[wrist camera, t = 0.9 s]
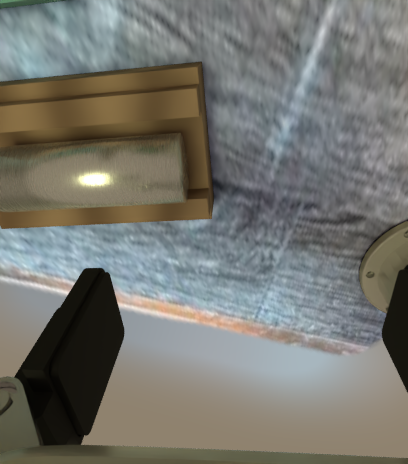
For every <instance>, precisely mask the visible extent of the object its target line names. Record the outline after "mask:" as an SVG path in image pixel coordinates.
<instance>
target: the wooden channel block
mask: <svg viewBox="0 0 408 464" xmlns="http://www.w3.org/2000/svg"><path fill="white" fill-rule="evenodd" d="M171 133H181V134H182V136H183V139H184V143H185V148H186V154H187V162H188V178H189V186H188V198H187V201H186V203H171V204H152V205H134V206H116V207H97V208H79V209H60V210H42V211H24V212H2V211H0V226H1V228H2V229H8V228H30V227H50V226H71V225H91V224H112V223H133V222H153V221H174V220H195V219H212V211H213V202H214V195H213V184H212V172H211V161H210V150H209V138H208V127H207V115H206V104H205V93H204V81H203V70H202V62H194V63H184V64H174V65H164V66H154V67H144V68H134V69H124V70H114V71H104V72H94V73H84V74H74V75H64V76H54V77H44V78H34V79H24V80H14V81H4V82H0V147H3V146H16V145H29V144H42V143H55V142H68V141H81V140H94V139H107V138H120V137H133V136H146V135H158V134H171Z"/></svg>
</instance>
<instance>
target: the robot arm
mask: <svg viewBox="0 0 408 464" xmlns="http://www.w3.org/2000/svg"><path fill="white" fill-rule="evenodd" d="M359 281H360V285H361V288H362V290H363V292H364V294H365V296H366V298H367V299H368V300H369V302H370V303H371V304H372V305H373V306H375V307H376V308H377V309H379V310H381V311H382V312H384V313H387V314H386V318H385V322H384V325H383V329H382V338H383V342H384V344H385V346H386V348H387V350H388V352H389V354H390V357H391V358H392V361H393V363H394V365H395V367H396V369H397V371H398V373H399V375H400V377H401V380H402V382H403V384H404V386H405V388H406V390H407V392H408V221H406V222H404V223H402V224H400V225H398V226H396V227H394V228H392V229H391V230H389V231H388V232H386V233H385V234H384V235H382V236H381V237H380V238H379V239H378V240H377V241H376V242H375V243H374V244H373V245H372V246H371V247H370V249H369V250H368V251H367V253H366V254H365V256H364V259H363V261H362V263H361V267H360V271H359ZM123 338H124V326H123V323H122V319H121V315H120V311H119V307H118V304H117V300H116V296H115V292H114V289H113V285H112V281H111V277H110V274H109V273H108V272H105V271H104V269H102V268H86V269H84V270H83V272H82V273H81V275H80V276H79V278H78V280H77V281H76V283H75V284H74V286H73V288H72V289H71V291H70V292H69V294H68V296H67V297H66V299H65V301H64V302H63V304H62V305H61V307H60V308H58V309H57V310H56V312H55V313H54V315H53V316H52V318H51V319H50V321H49V323H48V324H47V326H46V328H45V329H44V331H43V332H42V334H41V335H40V337H39V338H38V340H37V342H36V343H35V345H34V346H33V348H32V350H31V351H30V353H29V355H28V356H27V358H26V359H25V361H24V362H23V364H22V365H21V367H20V369H19V370H18V372H17V373H16V375H15V377H2V378H0V464H408V458H392V457H391V458H390V457H372V456H351V455H331V454H309V453H287V452H264V451H263V452H262V451H241V450H216V449H192V448H165V447H139V446H102V445H101V446H100V445H81V443H82V440H83V437H84V435H88V434H89V433H90V431H91V429H92V426H93V423H94V420H95V418H96V415H97V412H98V409H99V406H100V403H101V401H102V398H103V395H104V392H105V390H106V387H107V384H108V381H109V378H110V375H111V373H112V370H113V367H114V364H115V361H116V359H117V356H118V353H119V350H120V347H121V344H122V341H123Z"/></svg>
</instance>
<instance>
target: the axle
mask: <svg viewBox="0 0 408 464" xmlns="http://www.w3.org/2000/svg"><path fill="white" fill-rule="evenodd" d="M188 186H189V178H188V162H187V154H186V148H185V143H184V139H183V136H182V134H181V133H171V134H158V135H146V136H133V137H120V138H107V139H94V140H81V141H68V142H55V143H42V144H29V145H16V146H3V147H0V211H2V212H24V211H42V210H60V209H79V208H97V207H116V206H134V205H152V204H171V203H186V201H187V198H188Z"/></svg>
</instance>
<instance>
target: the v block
mask: <svg viewBox="0 0 408 464" xmlns="http://www.w3.org/2000/svg"><path fill="white" fill-rule="evenodd" d="M57 1H65V0H0V9H1V8H9V7H17V6H25V5H33V4H41V3H49V2H57Z"/></svg>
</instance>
